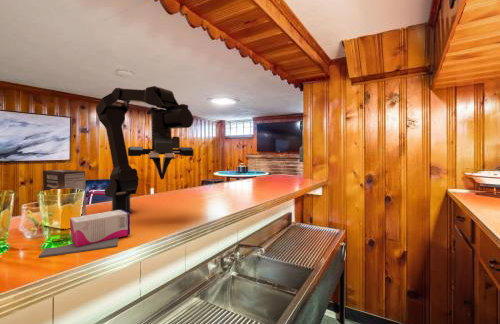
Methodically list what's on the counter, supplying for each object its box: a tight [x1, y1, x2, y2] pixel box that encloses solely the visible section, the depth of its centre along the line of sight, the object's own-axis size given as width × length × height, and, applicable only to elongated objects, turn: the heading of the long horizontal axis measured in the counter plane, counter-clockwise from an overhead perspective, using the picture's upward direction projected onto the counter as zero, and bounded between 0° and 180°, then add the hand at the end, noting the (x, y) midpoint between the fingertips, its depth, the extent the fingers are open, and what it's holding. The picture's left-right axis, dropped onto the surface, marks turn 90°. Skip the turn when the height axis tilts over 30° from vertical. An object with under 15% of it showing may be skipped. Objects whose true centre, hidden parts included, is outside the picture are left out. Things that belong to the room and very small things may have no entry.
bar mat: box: [38, 237, 120, 259], centre depth 60 cm, size 16×14×1 cm
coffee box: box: [42, 169, 87, 216], centre depth 70 cm, size 9×6×16 cm
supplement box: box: [70, 210, 131, 247], centre depth 60 cm, size 6×6×12 cm
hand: (161, 179), depth 76 cm, fingers closed
